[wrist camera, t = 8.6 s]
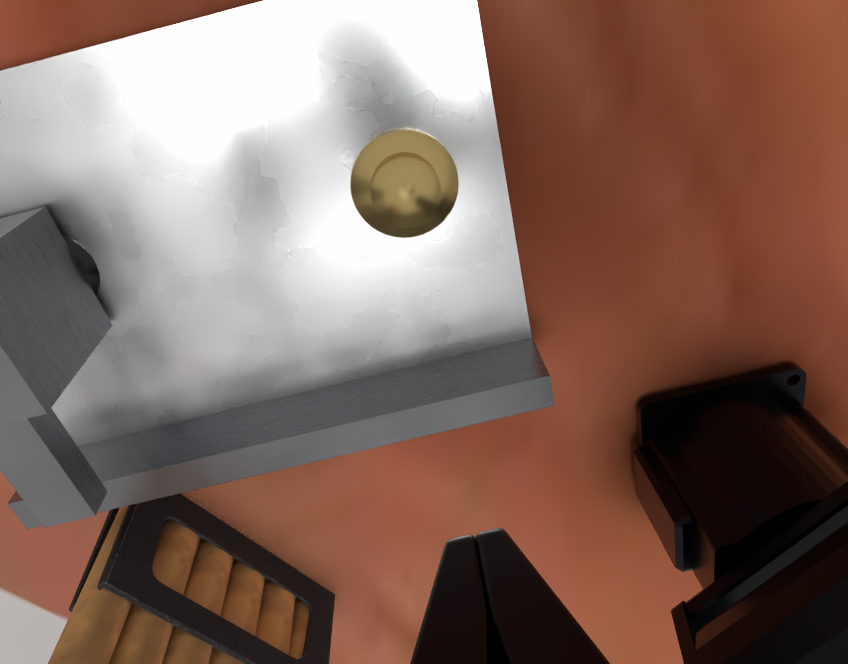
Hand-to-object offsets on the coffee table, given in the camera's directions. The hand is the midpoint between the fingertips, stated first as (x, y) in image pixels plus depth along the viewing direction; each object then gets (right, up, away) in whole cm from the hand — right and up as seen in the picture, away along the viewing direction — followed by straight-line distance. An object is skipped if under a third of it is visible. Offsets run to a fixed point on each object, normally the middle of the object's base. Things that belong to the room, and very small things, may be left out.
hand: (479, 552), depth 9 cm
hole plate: (-7, +6, +11) cm, 14 cm away
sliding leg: (-13, +3, +11) cm, 17 cm away
